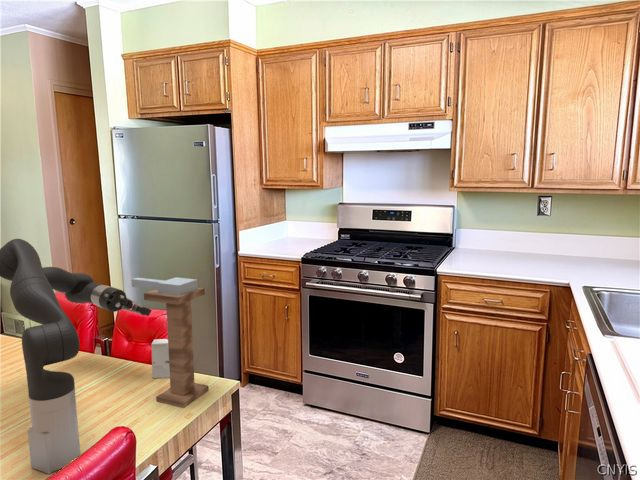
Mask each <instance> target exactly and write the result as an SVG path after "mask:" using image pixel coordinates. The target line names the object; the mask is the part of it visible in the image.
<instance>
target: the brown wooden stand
mask: <svg viewBox="0 0 640 480" xmlns="http://www.w3.org/2000/svg"><path fill="white" fill-rule="evenodd" d="M205 294H206V292H205V287H198V289H197V290H194V291H191V292H189V293H186V294H183V295H180V296H179V295H171V294H163V293H158V290H155V289H152V290H149V291H146V292H144V293H143V300H144V301H148V302H149V301H150V302H157V303H162V304H163V303H164V304H165V305H166V306H165V308H166V325H167V326H166V329H167V339H168V349H169V368H170V377H169V380H170V381H169V382H170V383H169V384H170V388H168V389H166V390H164V391H163V392H161V393H159V394H158V395H156V396H155V400H156V402H158V403H162V404H165V405H170V406H173V407H178V408H180V409H181V408H182V409H184V408H185V407H186V406H187V407H188V405H189V404H190V403H192V402H194V401H195V400H197V399H198V398H200V397H202V395H204V394H205V393H207V392H208V391H209V385H207V384H201V383H197V382H195V364H194V343H193V341H194V340H193V321H192V300H194V299H197V298H199V297H202V296H204V295H205Z"/></svg>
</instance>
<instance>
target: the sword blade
mask: <svg viewBox="0 0 640 480" xmlns="http://www.w3.org/2000/svg"><path fill="white" fill-rule="evenodd" d="M198 286H199V285H198V279H195V278H194V279H193V278H187V277H185V278H184V277H176V276H175V277H173V278H170V279H166V280H163V279H154V278H145V277H143V278H142V277H134V278H131V288H140V289H148V290H158V293H163V294H171V295H179V296H180V295H183V294H186V293H189V292H191V291H194V290H197V289H198Z"/></svg>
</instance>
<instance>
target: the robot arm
mask: <svg viewBox="0 0 640 480" xmlns="http://www.w3.org/2000/svg"><path fill="white" fill-rule="evenodd" d="M41 261H42V260H41V258H40V256H39V254H38V251H37V250H36V249H35V247H34V246H33V245H32V244H30V242H28V241H26V240H25V239H21V238H14V239H11V240H9V241H8V242H6V243H5V244H4V245H3V246H2V247H1V248H0V277H1V278H2V279H4V280H8V281H10V282H11V283H10V287H9V295H10V299H11V302H12V304H13V306H14V309H15V311H17V313H18V314H19V315H20V316H22V317H24V318H25V319H28V320H30V321H31V322H35V323H37V324H39V325H35V326H30V327H27V328H25V329H24V330H23V331H22V335H21V346H22V354H23V359H24V365H25V371H26V381H27V393H28V400H29V401H28V403H29V412H30V423H31V427H30V428H28V429H27V437H28V438H27V439H28V446H29V456H30V457H29V458H30V467H31V468H32V469H34V470H36V471H40V472H42V473H44V474H48V475H50V474H51V473H53V472H55V471H59V470H62V469H64V468H63V467H64V466H66V465H67V464H69V463H70V462H71V461H72V460H74V459H75V458H77V457H78V456H79V457H80V456H81V448H80V447H81V446H80V433H79V432H80V431H79V422H78V409H77V398H76V385H75V377H74V375H72V374H71V373H69V372H66V371H54V370H48V369H44V367H46V366H51V365H53V364H57V363H61V362H66V361H68V360H72V359H74V358H75V357H76V356H77V355H78V354H79V353H80V352H79V351H80V348H81V347H80V346H81V342H80V337H79V334H78V331H77V329H76V327H75V325H74V324H73V321H71V320H70V317H69V316H68V315H67V314H66V312H65V311H64V309H63V307H61V305H60V303H59V301H58V298H57V296H56V293H55V291H57V292H59V293H64V297H65V299H66V300H67V301H69V302H71V303H74V304H87V303H88V304H93V305H95V306H97V307H98V308H100V309H104V310H106V311H110V312H112V313H113V312H114V313H115V312H119V311H121V310H123V311H127V312H130V313H133V314H134V313H136V314H138V315H141V316H147V317H149V316H150V315H151V313H152V309H150V308H147V307H146V306H144V305H140V304H139V303H138V301H137V302H136V301H133V300H132V299H130V298H129V297H127V295H126V291H124V290H122V289H119V288H117V287H113V286H109V285H104V284H101V283H98V282H95V280H94V279H93V277H92V276H91V275H89V274H87V273H83V272H81V273H80V272H75V273H74V272H69V271H67V270H65V269H63V268H60V267H55V266H46V267H45V266H44V267H43V266H42V262H41ZM61 468H62V469H61Z"/></svg>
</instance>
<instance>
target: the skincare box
mask: <svg viewBox="0 0 640 480" xmlns="http://www.w3.org/2000/svg"><path fill="white" fill-rule="evenodd" d="M151 370H152V375H151V376H152V379H159V378H160V379H164V378H170V368H169V349H168V338H162V339H161V338H159V339H158V338H157V339H153V341H152V343H151Z"/></svg>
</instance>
